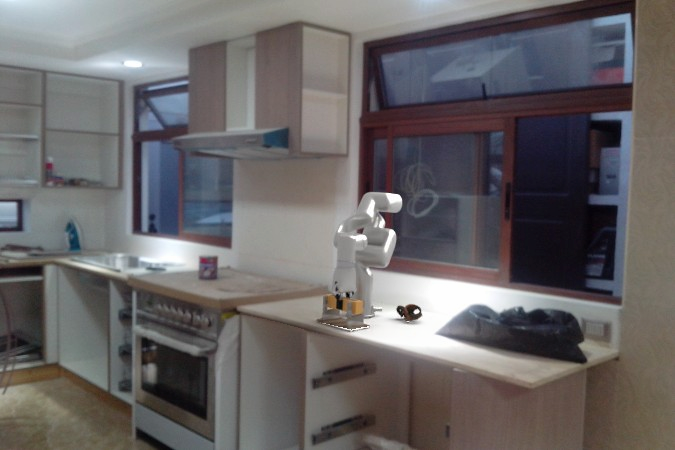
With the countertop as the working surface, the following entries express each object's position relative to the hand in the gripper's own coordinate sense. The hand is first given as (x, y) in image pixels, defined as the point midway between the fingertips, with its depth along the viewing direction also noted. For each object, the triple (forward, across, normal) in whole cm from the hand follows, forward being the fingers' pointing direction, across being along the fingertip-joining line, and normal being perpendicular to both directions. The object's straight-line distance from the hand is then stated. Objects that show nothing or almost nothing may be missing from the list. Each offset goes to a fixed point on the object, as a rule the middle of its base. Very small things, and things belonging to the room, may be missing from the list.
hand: (343, 308), depth 264 cm
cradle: (+7, 0, 0) cm, 7 cm away
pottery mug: (+7, -31, +10) cm, 34 cm away
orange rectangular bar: (+1, 0, 0) cm, 1 cm away
